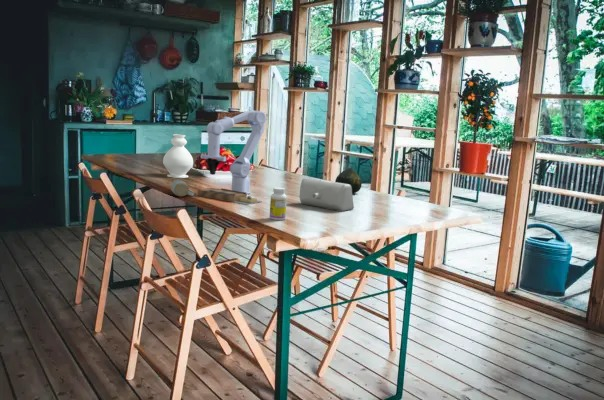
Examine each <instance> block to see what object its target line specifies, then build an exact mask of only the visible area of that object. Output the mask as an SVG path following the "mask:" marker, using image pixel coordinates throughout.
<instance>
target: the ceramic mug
mask: <svg viewBox="0 0 604 400" xmlns="http://www.w3.org/2000/svg"><path fill="white" fill-rule="evenodd" d="M170 189H171V191H172V193H173V194H174V195H175V196H177V197H182V198H183V197H186V195H188V196H191V197H194V195H195V192H193V191H191V190H190V189H189V185H188V184H187V183H186V182H185V181H184V180H183V179H182V178H175V179H174V180H173V181H172V182H171V185H170Z"/></svg>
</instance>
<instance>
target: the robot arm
mask: <svg viewBox="0 0 604 400" xmlns="http://www.w3.org/2000/svg"><path fill="white" fill-rule="evenodd" d="M244 121H247V122H248V124H249V126H250V127H251V132H250V134H249V137H248V139H247V141H246V142H245V145H244V147H243V148H242V151H241V152H240V155H239V157H237V158H235V160H234V161H233V163H231V164H230V166H229V172H230V173H231V176H232V177H231V190H234V191H240V192H246V193H247V195H248V194H252V192H251V191H250V187H251V181H250V177H249V174H250V168H251V162H250V160H251V158H252V156H253V155H254V152H255V151H256V148H257V146H258V144H259V143H260V140H261V138H262V136H263V134H264V132H265V130H264V129H265V125H266V124H265V123H266V121H267V117H266V113H265V112H264V111H263V110H253V109H248V110H247V111H244V112H242V113H239V114H237V115H235V116H232V117H230V116H223V118H221V119H216V120H215V122H214V121H212V122H209V123H208V124H207V125H206V126H207V127H205V129H206V132H207V136H208V138H207V154H204V153H203V154H202V153H201V154H200V159H204V160H205V161H206V164H207V166H208V169H209V174H210V175H216V171H217V169H218V166H219V165H220V163H221V162H227V157H226V156H222V155H220V151H221V150H220V148H221V147H220V146H221V134H222V133H223V132H224V131H228V130H230V129H232V128H234V125H236V124H239V123H241V122H244Z"/></svg>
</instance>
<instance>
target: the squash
mask: <svg viewBox="0 0 604 400" xmlns="http://www.w3.org/2000/svg"><path fill="white" fill-rule="evenodd" d="M334 181H335V182H338V183H344V184H349V185H351V187H352V195H353V194H355V193H359V191H360V190H361V189H362V183H363V182H362V181H363V180H362V178H361V177H360V176H359V174H358V173H357V172H356V171H355V169H354V168H352V167H349V168H346V169H344V170H342V171H341V172H340V173H339V174H337V176H336V178H335V180H334Z"/></svg>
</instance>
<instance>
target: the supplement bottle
mask: <svg viewBox="0 0 604 400" xmlns="http://www.w3.org/2000/svg"><path fill="white" fill-rule="evenodd" d="M285 191H286V188H284V187H273V193H272V194H271V195H270V203H269V219H270V220H273V221H283V220H284V221H285V219H286V215H287V211H286V210H287V198H288V196H287V195H286V194H285Z"/></svg>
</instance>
